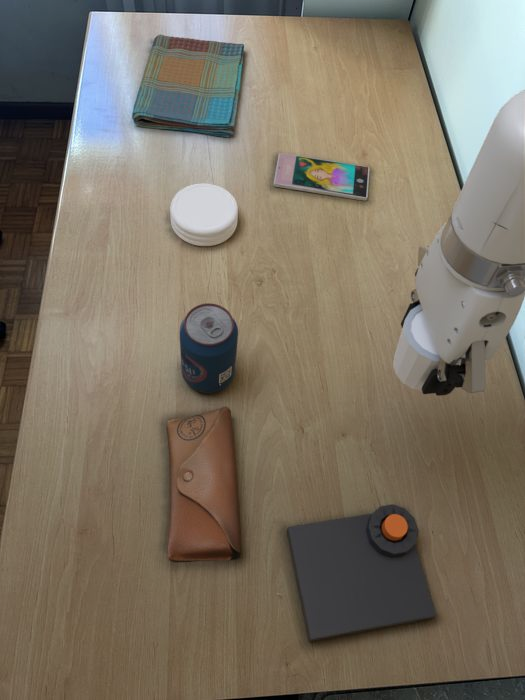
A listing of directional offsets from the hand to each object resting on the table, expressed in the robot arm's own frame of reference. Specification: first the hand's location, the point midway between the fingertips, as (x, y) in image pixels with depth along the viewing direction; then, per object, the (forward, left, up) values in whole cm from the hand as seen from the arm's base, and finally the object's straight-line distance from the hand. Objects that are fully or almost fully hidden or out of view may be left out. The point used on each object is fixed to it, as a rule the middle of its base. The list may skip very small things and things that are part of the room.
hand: (425, 356), depth 67 cm
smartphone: (-3, -45, -20) cm, 49 cm away
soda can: (+20, -12, -20) cm, 31 cm away
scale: (+7, +16, -20) cm, 27 cm away
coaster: (+17, -38, -20) cm, 46 cm away
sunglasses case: (+23, +3, -20) cm, 31 cm away
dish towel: (+15, -69, -20) cm, 73 cm away
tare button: (+3, +12, -17) cm, 21 cm away
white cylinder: (0, 0, -2) cm, 2 cm away
